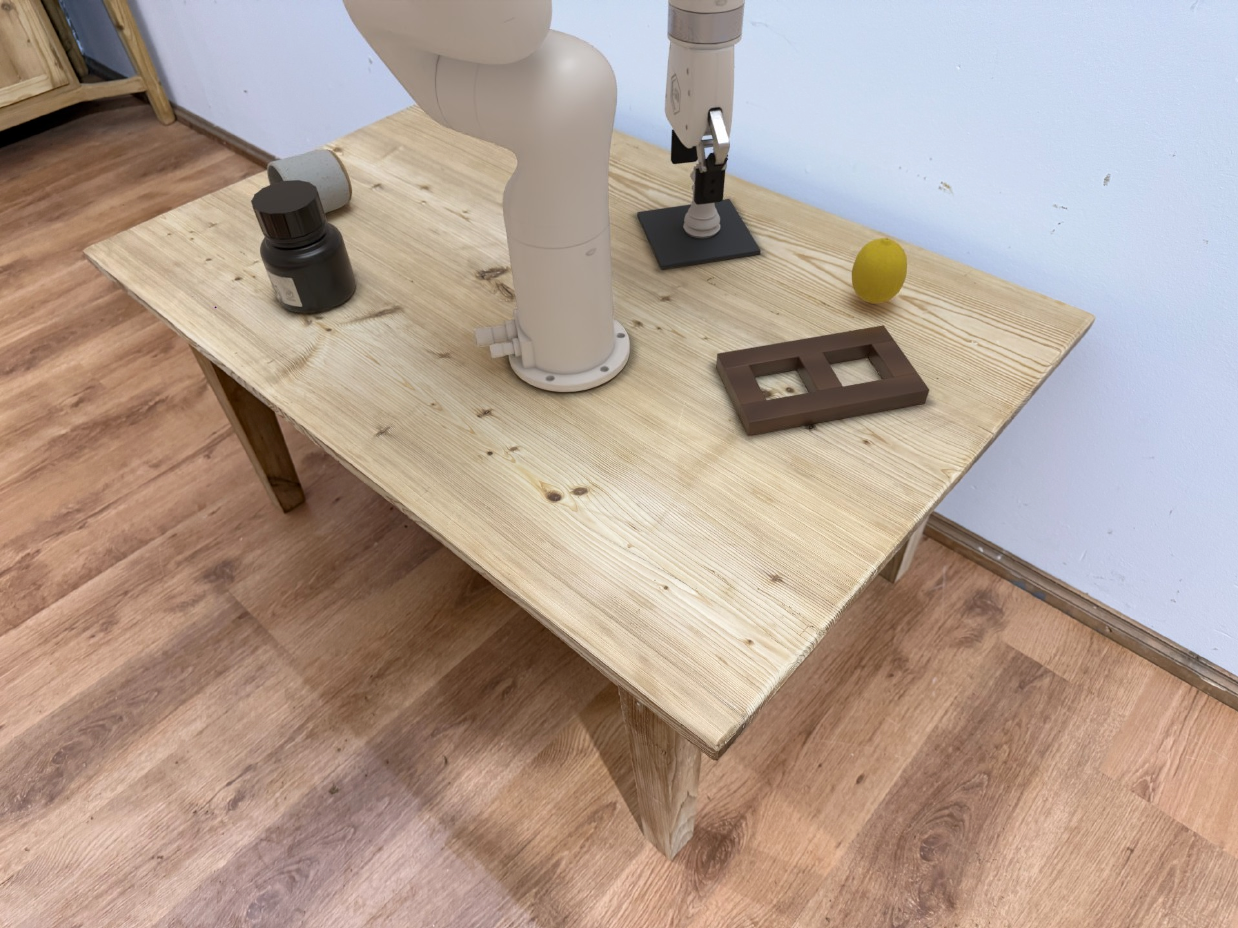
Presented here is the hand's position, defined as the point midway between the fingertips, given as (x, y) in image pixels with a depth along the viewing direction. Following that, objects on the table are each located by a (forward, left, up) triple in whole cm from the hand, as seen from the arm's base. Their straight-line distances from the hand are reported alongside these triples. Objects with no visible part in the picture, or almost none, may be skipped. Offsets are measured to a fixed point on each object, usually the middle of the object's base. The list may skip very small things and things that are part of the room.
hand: (695, 181), depth 97 cm
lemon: (+15, -17, -8) cm, 24 cm away
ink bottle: (-44, +1, -8) cm, 45 cm away
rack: (+5, -28, -7) cm, 30 cm away
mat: (+1, +1, -7) cm, 7 cm away
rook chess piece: (+1, +1, -7) cm, 7 cm away
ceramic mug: (-45, +20, -8) cm, 50 cm away
